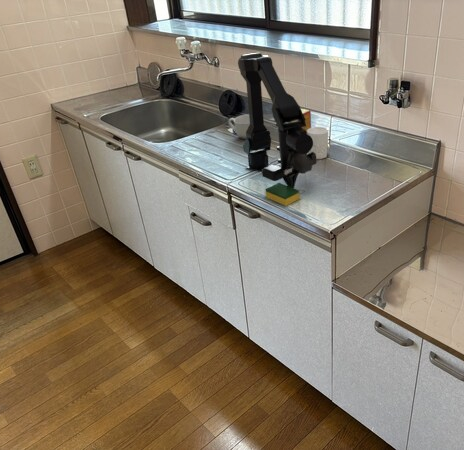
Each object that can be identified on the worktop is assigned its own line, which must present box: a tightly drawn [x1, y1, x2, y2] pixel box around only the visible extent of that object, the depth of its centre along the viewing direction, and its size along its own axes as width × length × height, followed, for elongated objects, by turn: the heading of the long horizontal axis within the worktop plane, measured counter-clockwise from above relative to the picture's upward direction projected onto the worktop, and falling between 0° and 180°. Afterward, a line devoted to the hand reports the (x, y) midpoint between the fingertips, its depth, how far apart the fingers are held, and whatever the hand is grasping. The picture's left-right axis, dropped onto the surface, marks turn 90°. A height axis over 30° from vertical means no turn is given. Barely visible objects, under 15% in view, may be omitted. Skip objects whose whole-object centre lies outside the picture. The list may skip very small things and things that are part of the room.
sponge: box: [265, 182, 300, 207], centre depth 148 cm, size 9×6×3 cm, turn 44°
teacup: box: [227, 113, 250, 140], centre depth 198 cm, size 14×11×8 cm
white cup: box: [307, 126, 329, 160], centre depth 175 cm, size 8×8×10 cm
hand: (291, 189), depth 151 cm, fingers closed
